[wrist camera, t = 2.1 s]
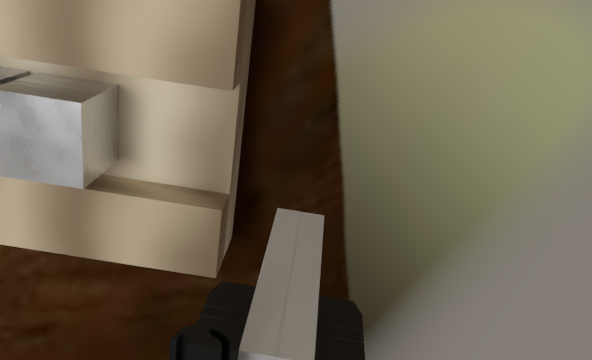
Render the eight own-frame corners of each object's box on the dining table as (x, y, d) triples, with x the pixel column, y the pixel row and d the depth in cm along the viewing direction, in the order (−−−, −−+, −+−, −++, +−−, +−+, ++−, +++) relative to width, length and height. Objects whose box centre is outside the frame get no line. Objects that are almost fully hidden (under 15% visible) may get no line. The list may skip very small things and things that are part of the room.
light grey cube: (44, 147, 26) (-4, 175, 23) (39, 72, 25) (-12, 88, 21) (118, 159, 26) (83, 189, 23) (118, 84, 25) (81, 103, 21)
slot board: (-26, 196, 31) (-83, 231, 26) (-56, -53, 25) (-133, -59, 21) (231, 237, 30) (215, 278, 26) (256, -6, 25) (241, -3, 21)
